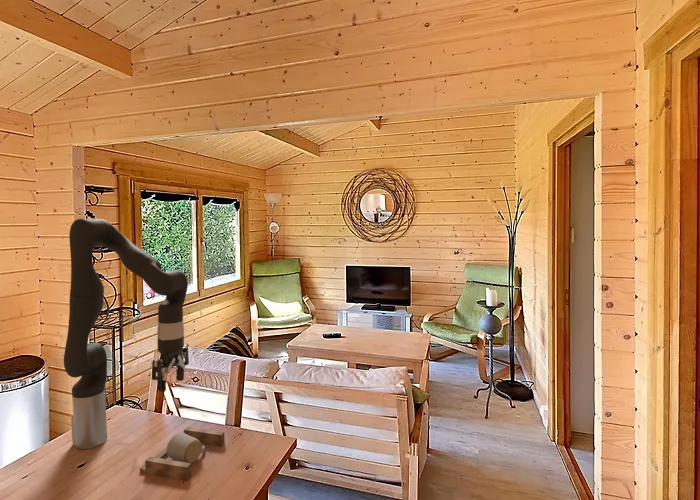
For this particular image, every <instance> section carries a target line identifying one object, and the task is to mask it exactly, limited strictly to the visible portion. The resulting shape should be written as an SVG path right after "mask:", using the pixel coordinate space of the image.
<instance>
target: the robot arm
mask: <svg viewBox="0 0 700 500" xmlns="http://www.w3.org/2000/svg"><path fill="white" fill-rule="evenodd" d="M68 235H69V236H68V237H69V252H70V262H71V263H70V289H69V312H68V313H69V314H68V330H67V336H66V341H65V342H66V343H65V348H64V354H63V366H64V370H65V372H66V374H67V375H68V376H69V377H71V378H79V380H77V381H76V382H75V383H74V384H73V386H72V388H71V395H72V396H71V398H72V400H71V401H72V413H73V416H71V418H70V422H71V423H70V424H71V439H72V446H74V447H75V448H76V449H78V450H88V449H93V448H96V447H98V446H101V445H102V444H104V443H105V442H106V441H107V439H108V426H107V425H108V424H107V408H106V407H107V406H106V404H107V403H106V402H107V401H106V388H105V386H106V382H107V379H108V373H107V372H108V357H107V352H106V349H105V347H104V346H103V344H101V343H99V342H90V343H89V342H88V341H89V337H90V334H91V331H92V329H93V328H94V325H95V324H96V322H97V320H98V319H99V317H100V316H101V313H102V310H103V307H104V297H105V295H104V294H105V288H104V284H103V281H102V280H101V278H100V276H99V274H98V273H97V271H96V269H95V266H94V264H93V251H94V250H93V249H94V248H100V247H103V248H106V249H109V250H111V251H113V252H114V253H116V254H117V255H118V257H119V258H120V261H121V263H122V264H123V266H124V267H125V268H126V269H127V270H128V271H130V272H132V273H133V274H134V275H136V276H138V277H139V278H140V279H142V280H143V281H144V283H145V284H146V285H147V286H148V287H149V289H150V290H151V291H153V293H155V294H158V295H159V296H165V299H164V300H163V301H162V302H161V303H159V305H158V306H157V307H158V308H157V321H158V322H157V333H156V334H157V351H158V353H160V356H159V359H153V360H152V361H151V364H152V365H151V380H153V381H157V391H158V392H160V393H165V392H166V391H167V383H166V382H167V380H166V377H167V376H168V374H169V373H170V372H171V370H172V369H173V368H174V367H175V368H176V371H175V372H176V373H175V374H176V375H175V376H176V381H178V382H182V381H184V380H185V379H184V378H185V369H186V366H188V365H189V360H190V359H189V347H185V334H184V333H185V326H184V308H183V307H184V304H185V300H186V296H187V293H188V292H187V291H188V286H189V285H188V278H187V276H186V274H185V272H183V271H181V270H180V269H174V270H169V271H163V270H162V268H163V267H162V263H160V261H158V259H156V258H154V257H153V256H151V255H150V254H149V253H147V252H146V251H144V250H142V249H141V248H139V247H138V246H136V244H134V243H133V242H132V241H130V239H128V238H127V237H126V236H125V235H124V234H123V233H121V232H120V231H119V230H118V228H116V226H114V225H113V224H112V223H110V222H109V221H108V220H106V219H103V218H96V217H95V218H78V219H75V220H74V221H73V222H72V224H71V226H70V229H69V234H68Z"/></svg>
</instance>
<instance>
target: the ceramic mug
mask: <svg viewBox="0 0 700 500" xmlns="http://www.w3.org/2000/svg"><path fill="white" fill-rule="evenodd" d="M166 447H167V457H168V458H169V459H170V460H173V461H179V462H186V463H191V464H193V463H194V462H196V461H197V460H198V459H199V457H200V455H201V454H203V453H205V449H206V446H205V445H204V444H201V442H200V441H199V440H198V439H196V438H194V437H191V436H189V435H187V434H185V433H184V432H178V433H175V434H173V436H172V437H171V438H170V440H169V442H168V443H167V445H166Z"/></svg>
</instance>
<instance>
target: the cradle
mask: <svg viewBox="0 0 700 500" xmlns="http://www.w3.org/2000/svg"><path fill="white" fill-rule="evenodd" d="M183 433H185V434H187V435H189V436H191V437H194V438H196V439H198V440H199V441H200V442H201V444H202V445H208V446H214V447H220V448H221V447H223V446H224V445H225V443H226V440H225V431H221V430H212V429H205V428H198V427H191V426H186V428H184V429H183ZM166 457H168V455H167V446H166V447H165V448H163V449H162V450H161V451H159V452H158V453H157V454H156V455H155V456H149V457H147V458H146V459H145V460H144V463H145V464H143V465H142V466H141V467H139V473H141V474H146V475H147V474H148V475H151V476H159V477H163V478H164V477H165V478H169V479H174V480H180V481H186V482H187V481H189V479H191V477H192V463H186V462H180V461H177V460H174V459H167V458H166Z"/></svg>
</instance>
